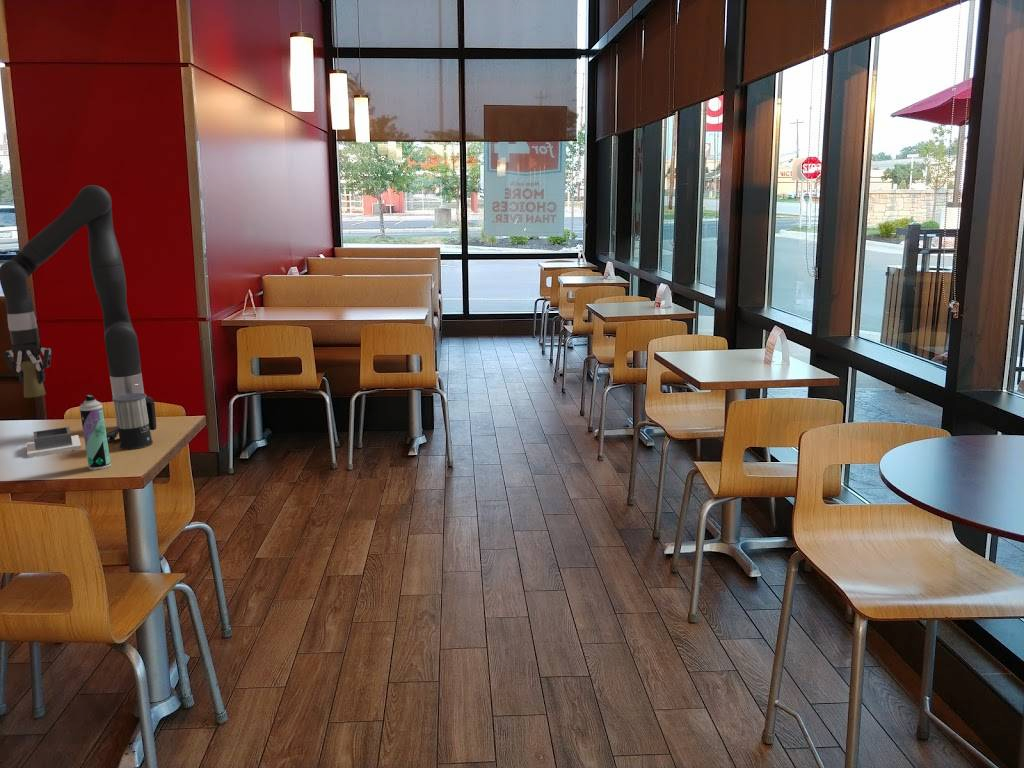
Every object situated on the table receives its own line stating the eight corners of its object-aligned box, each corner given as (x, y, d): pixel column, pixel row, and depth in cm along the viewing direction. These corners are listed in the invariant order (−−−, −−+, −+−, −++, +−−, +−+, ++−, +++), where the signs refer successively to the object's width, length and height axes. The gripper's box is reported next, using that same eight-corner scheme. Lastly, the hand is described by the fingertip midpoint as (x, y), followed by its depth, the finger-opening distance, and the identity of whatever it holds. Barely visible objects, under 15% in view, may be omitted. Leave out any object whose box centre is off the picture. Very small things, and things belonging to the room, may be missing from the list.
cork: (36, 397, 273) (30, 361, 270) (19, 397, 274) (13, 361, 272) (50, 392, 279) (44, 357, 276) (33, 392, 280) (27, 357, 277)
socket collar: (70, 437, 274) (68, 426, 273) (72, 444, 266) (70, 433, 265) (35, 443, 270) (33, 431, 269) (35, 450, 261) (33, 439, 261)
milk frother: (146, 449, 262) (139, 399, 259) (91, 452, 262) (83, 402, 259) (162, 435, 276) (156, 388, 273) (110, 438, 276) (103, 391, 272)
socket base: (78, 438, 277) (78, 435, 277) (81, 449, 265) (81, 445, 265) (27, 446, 271) (26, 442, 271) (27, 457, 259) (27, 453, 258)
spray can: (93, 464, 249) (82, 393, 245) (113, 463, 249) (103, 392, 245) (85, 470, 244) (74, 398, 239) (106, 469, 244) (96, 397, 240)
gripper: (52, 324, 276) (62, 378, 279) (4, 327, 275) (14, 382, 279) (41, 328, 268) (51, 384, 272) (-8, 331, 268) (2, 387, 272)
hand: (32, 382), depth 275 cm, fingers closed on cork, 4 cm apart
